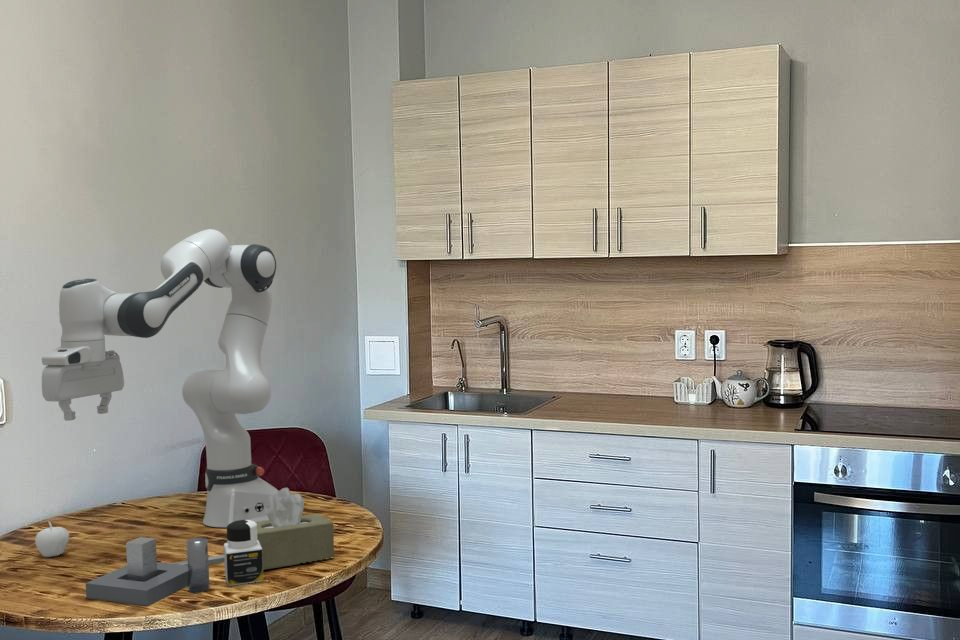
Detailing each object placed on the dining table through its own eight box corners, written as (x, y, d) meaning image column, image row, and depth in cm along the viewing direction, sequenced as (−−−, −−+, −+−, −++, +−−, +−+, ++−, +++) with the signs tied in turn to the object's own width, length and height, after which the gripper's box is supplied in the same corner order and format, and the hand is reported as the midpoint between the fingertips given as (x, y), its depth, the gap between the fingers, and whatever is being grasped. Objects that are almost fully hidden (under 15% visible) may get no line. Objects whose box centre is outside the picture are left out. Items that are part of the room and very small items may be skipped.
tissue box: (320, 547, 208) (319, 479, 208) (335, 558, 200) (334, 487, 199) (238, 560, 199) (237, 489, 199) (250, 572, 190) (248, 497, 190)
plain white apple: (28, 558, 206) (27, 523, 206) (53, 549, 213) (51, 515, 213) (52, 561, 204) (50, 525, 204) (76, 551, 211) (74, 517, 210)
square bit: (142, 585, 186) (140, 537, 185) (158, 587, 184) (155, 538, 184) (128, 591, 182) (125, 542, 182) (144, 593, 181) (141, 544, 180)
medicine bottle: (227, 587, 183) (225, 528, 183) (224, 576, 190) (222, 519, 189) (263, 581, 186) (261, 524, 185) (259, 571, 192) (257, 515, 192)
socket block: (139, 573, 193) (139, 560, 193) (197, 580, 188) (197, 566, 187) (86, 598, 179) (85, 583, 179) (147, 606, 174) (146, 590, 173)
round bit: (207, 584, 185) (205, 536, 184) (211, 590, 181) (209, 541, 181) (187, 588, 183) (185, 539, 183) (190, 594, 180) (188, 544, 179)
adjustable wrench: (144, 578, 192) (144, 570, 192) (143, 569, 198) (143, 561, 198) (264, 560, 201) (264, 552, 201) (260, 552, 207) (259, 545, 207)
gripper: (107, 349, 208) (110, 409, 209) (35, 357, 189) (38, 423, 190) (129, 349, 206) (132, 410, 206) (58, 358, 187) (61, 424, 187)
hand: (86, 416), depth 198 cm, fingers open, 8 cm apart
